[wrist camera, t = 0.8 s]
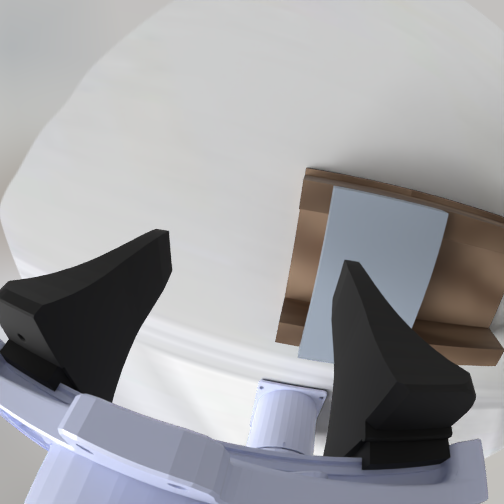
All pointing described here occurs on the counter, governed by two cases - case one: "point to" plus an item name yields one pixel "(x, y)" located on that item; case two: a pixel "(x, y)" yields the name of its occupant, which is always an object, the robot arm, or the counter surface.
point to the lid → (373, 258)
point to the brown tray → (442, 279)
